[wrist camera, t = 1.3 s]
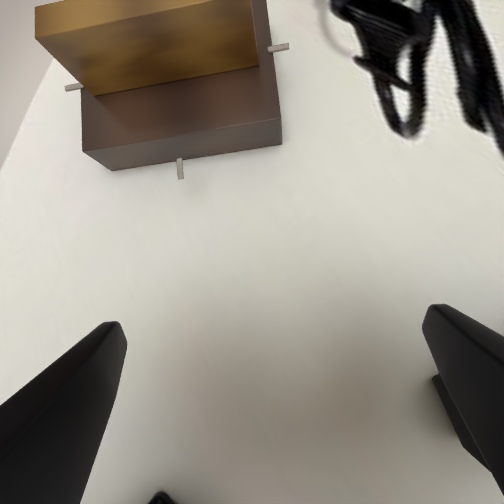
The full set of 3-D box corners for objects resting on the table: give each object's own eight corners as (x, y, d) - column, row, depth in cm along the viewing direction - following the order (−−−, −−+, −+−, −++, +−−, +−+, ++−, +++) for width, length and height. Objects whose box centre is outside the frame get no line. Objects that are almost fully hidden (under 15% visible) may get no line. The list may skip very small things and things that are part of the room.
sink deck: (99, 209, 24) (66, 195, 20) (93, 32, 26) (62, -9, 23) (301, 180, 22) (304, 159, 19) (276, -7, 24) (275, -58, 21)
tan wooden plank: (93, 96, 21) (30, 34, 16) (92, 71, 21) (30, 2, 16) (259, 65, 20) (249, -13, 15) (256, 39, 20) (245, -47, 15)
